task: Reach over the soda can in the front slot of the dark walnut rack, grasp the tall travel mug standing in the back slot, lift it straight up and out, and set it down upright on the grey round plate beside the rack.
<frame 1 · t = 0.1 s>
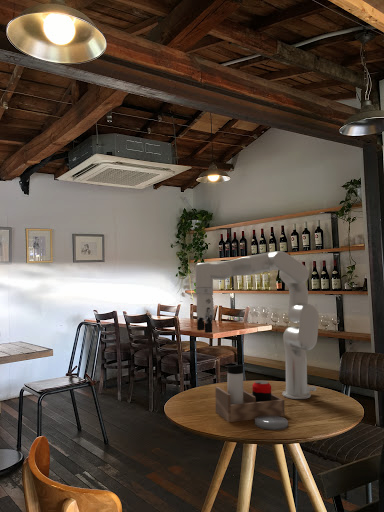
hand: (204, 331, 186), 31 cm above the table, tool pointing down, fingers open, 9 cm apart
grey round plate: (271, 424, 159), on the table
walnut rack: (249, 413, 172), on the table
travel mug: (235, 415, 170), resting in walnut rack
soda can: (262, 412, 174), resting in walnut rack
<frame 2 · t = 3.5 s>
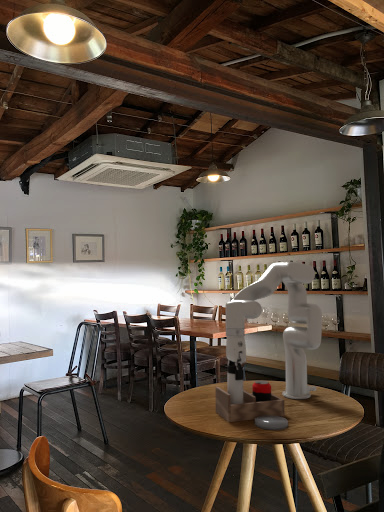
hand: (235, 377, 171), 15 cm above the table, tool pointing down, fingers closed on travel mug, 6 cm apart
travel mug: (235, 415, 170), resting in walnut rack, touching gripper
everything else where it was.
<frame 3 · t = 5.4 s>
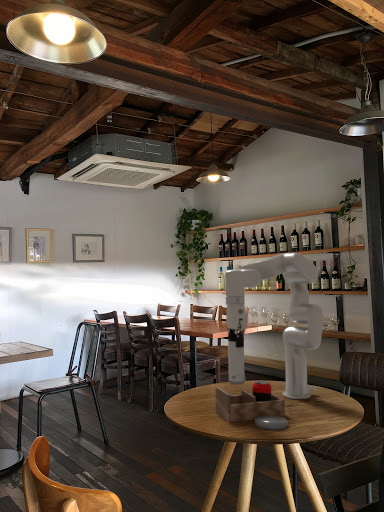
hand: (236, 345, 172), 27 cm above the table, tool pointing down, fingers closed on travel mug, 6 cm apart
travel mug: (236, 383, 171), point 12 cm above the table, touching gripper
everything else where it was.
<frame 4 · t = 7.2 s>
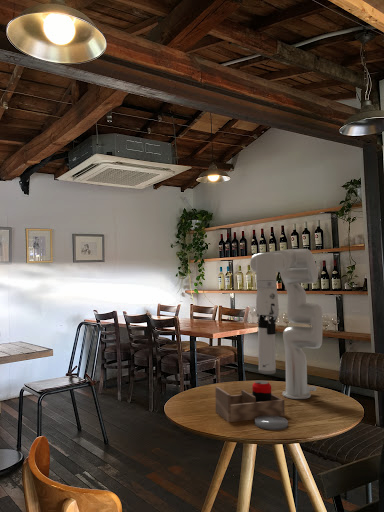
hand: (266, 332, 162), 34 cm above the table, tool pointing down, fingers closed on travel mug, 6 cm apart
travel mug: (267, 372, 161), point 19 cm above the table, touching gripper
everything else where it was.
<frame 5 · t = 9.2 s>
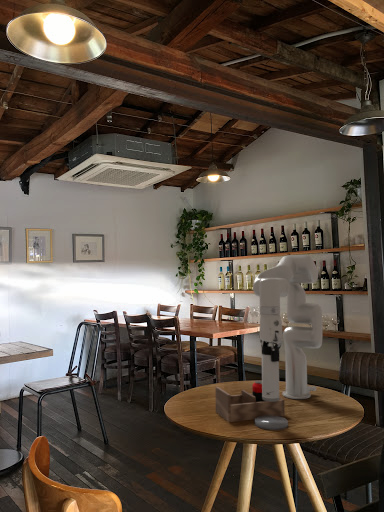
hand: (270, 359, 161), 24 cm above the table, tool pointing down, fingers closed on travel mug, 6 cm apart
travel mug: (271, 400, 159), point 9 cm above the table, touching gripper
everything else where it was.
when the fingers open (17 cm above the table, at t = 10.9 s): travel mug drops 1 cm, resting on grey round plate.
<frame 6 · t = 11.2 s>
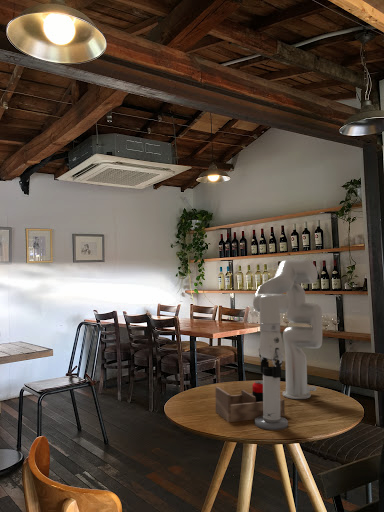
hand: (270, 374, 160), 18 cm above the table, tool pointing down, fingers open, 8 cm apart
travel mug: (272, 421, 159), point 1 cm above the table, touching grey round plate
everything else where it was.
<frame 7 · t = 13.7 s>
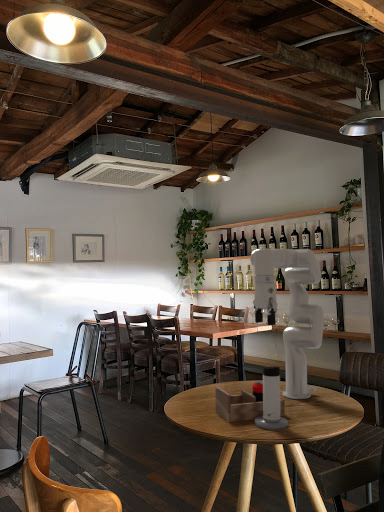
hand: (265, 323, 169), 36 cm above the table, tool pointing down, fingers open, 9 cm apart
nothing on the table moved.
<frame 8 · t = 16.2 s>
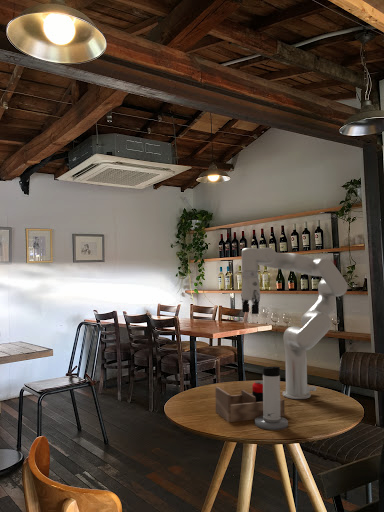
hand: (250, 313, 195), 38 cm above the table, tool pointing down, fingers open, 9 cm apart
nothing on the table moved.
at the end: travel mug 0.5 cm off-centre on the grey round plate, point 1.3 cm above the grey round plate's base; travel mug tilted 0°; the gripper is holding nothing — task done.
